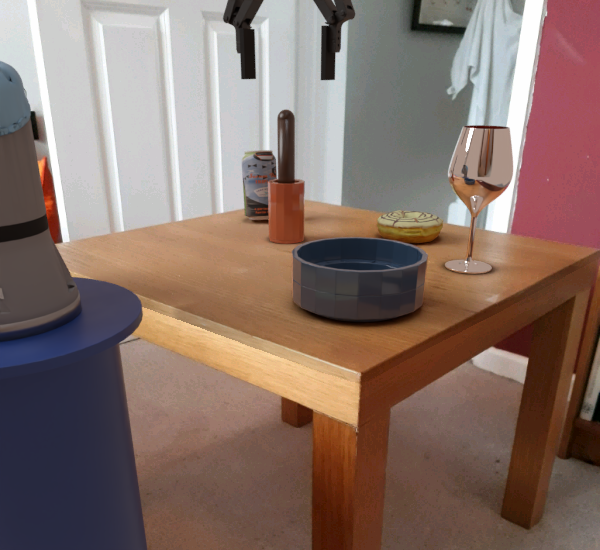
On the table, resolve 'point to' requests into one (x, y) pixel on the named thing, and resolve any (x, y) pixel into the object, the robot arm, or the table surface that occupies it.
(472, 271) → the wineglass
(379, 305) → the bowl
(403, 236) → the decorated donut
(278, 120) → the stirring stick
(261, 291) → the table surface
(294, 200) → the utensil pot
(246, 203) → the beverage can
